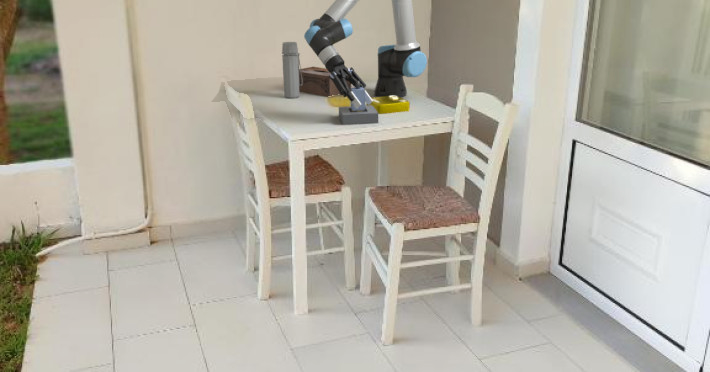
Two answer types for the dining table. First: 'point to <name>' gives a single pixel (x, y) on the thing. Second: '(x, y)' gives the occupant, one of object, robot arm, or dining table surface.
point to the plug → (358, 97)
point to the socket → (358, 115)
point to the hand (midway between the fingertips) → (364, 104)
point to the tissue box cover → (318, 82)
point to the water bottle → (291, 69)
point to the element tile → (390, 104)
